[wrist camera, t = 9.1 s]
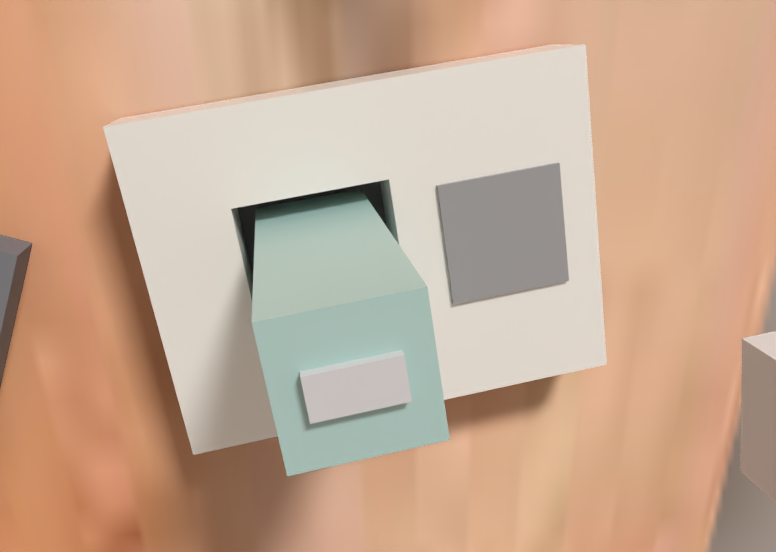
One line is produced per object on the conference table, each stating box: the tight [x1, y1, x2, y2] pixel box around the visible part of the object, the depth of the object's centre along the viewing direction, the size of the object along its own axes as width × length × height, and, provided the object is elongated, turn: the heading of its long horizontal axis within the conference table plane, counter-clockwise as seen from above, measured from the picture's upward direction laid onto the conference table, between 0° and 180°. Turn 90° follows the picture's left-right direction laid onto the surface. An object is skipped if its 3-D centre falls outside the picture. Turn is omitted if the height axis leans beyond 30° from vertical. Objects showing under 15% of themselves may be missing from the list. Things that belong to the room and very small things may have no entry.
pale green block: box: [252, 189, 450, 476], centre depth 23 cm, size 4×4×12 cm
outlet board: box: [103, 44, 607, 455], centre depth 27 cm, size 12×16×3 cm
